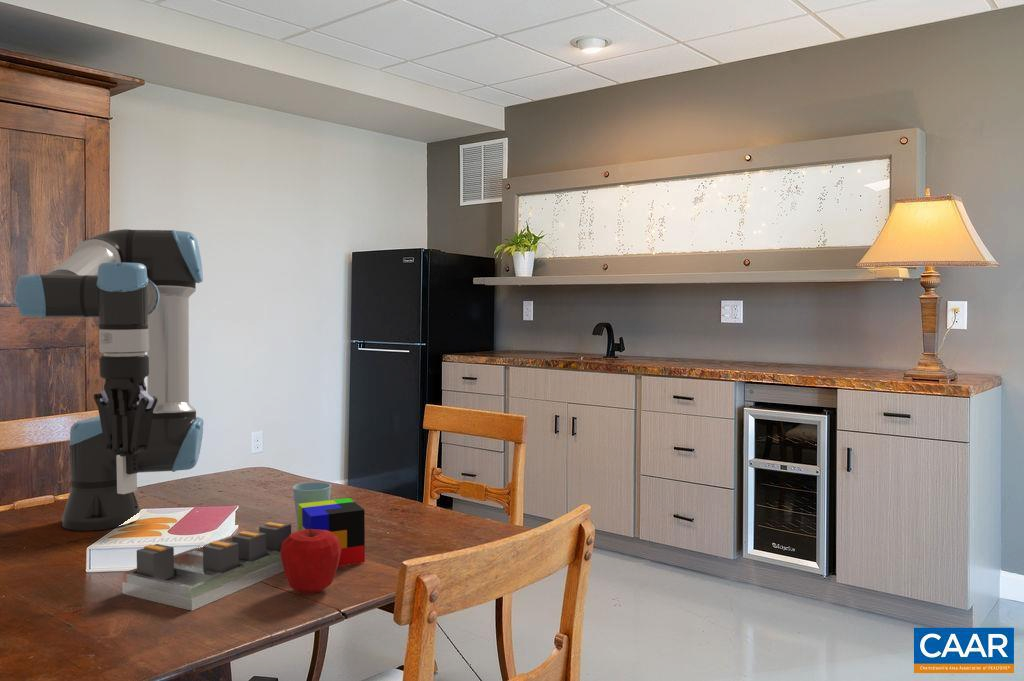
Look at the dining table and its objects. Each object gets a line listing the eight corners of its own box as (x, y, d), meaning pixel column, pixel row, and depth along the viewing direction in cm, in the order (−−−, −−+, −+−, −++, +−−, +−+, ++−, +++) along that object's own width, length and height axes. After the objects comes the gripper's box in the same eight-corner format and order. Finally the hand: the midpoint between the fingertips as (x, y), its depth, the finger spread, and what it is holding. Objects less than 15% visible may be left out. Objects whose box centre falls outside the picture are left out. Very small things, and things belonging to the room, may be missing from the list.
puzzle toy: (310, 571, 142) (310, 516, 142) (298, 555, 151) (298, 503, 150) (364, 562, 147) (364, 509, 146) (349, 548, 156) (349, 498, 155)
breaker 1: (137, 580, 130) (136, 548, 130) (157, 572, 134) (156, 542, 134) (153, 584, 129) (153, 552, 128) (174, 576, 132) (173, 545, 132)
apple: (284, 605, 125) (283, 538, 125) (276, 585, 134) (276, 522, 134) (346, 596, 129) (346, 531, 129) (335, 578, 138) (334, 516, 138)
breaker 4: (259, 553, 144) (259, 525, 144) (274, 547, 148) (274, 520, 148) (276, 557, 143) (275, 528, 142) (291, 550, 146) (291, 522, 146)
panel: (122, 593, 130) (122, 572, 130) (240, 550, 154) (240, 532, 153) (191, 610, 123) (191, 588, 123) (304, 562, 146) (304, 543, 146)
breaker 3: (232, 564, 139) (232, 534, 138) (249, 557, 142) (248, 528, 142) (249, 567, 137) (249, 537, 137) (266, 561, 140) (265, 531, 140)
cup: (335, 538, 161) (334, 488, 161) (296, 542, 158) (296, 491, 158) (327, 528, 168) (327, 480, 168) (291, 533, 165) (290, 483, 165)
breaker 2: (203, 575, 133) (202, 544, 132) (221, 568, 136) (221, 538, 136) (220, 579, 131) (220, 548, 131) (238, 572, 135) (238, 541, 134)
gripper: (78, 354, 132) (81, 492, 134) (131, 357, 127) (134, 501, 128) (117, 351, 139) (120, 483, 140) (170, 354, 133) (172, 491, 135)
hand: (127, 492), depth 134 cm, fingers closed
